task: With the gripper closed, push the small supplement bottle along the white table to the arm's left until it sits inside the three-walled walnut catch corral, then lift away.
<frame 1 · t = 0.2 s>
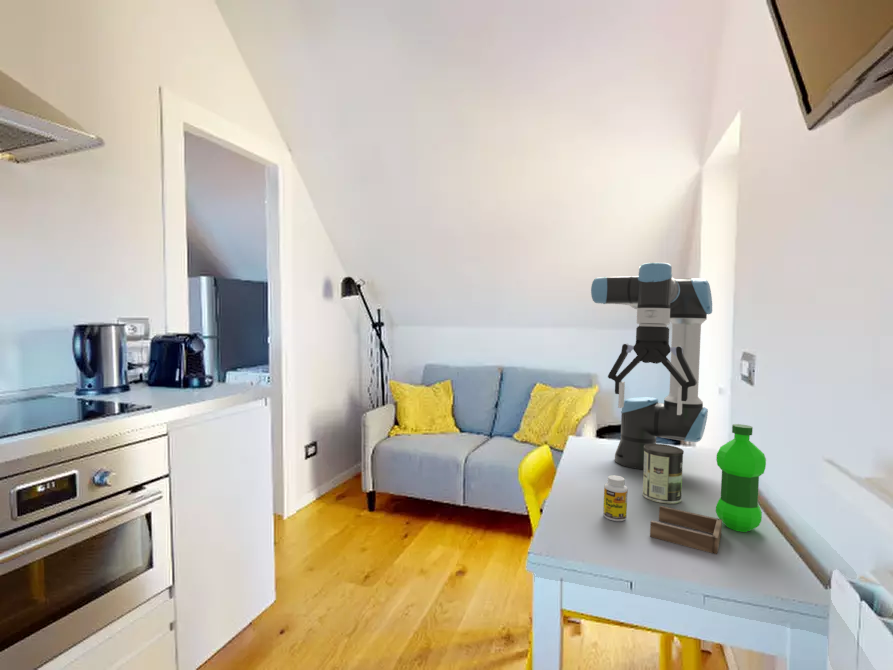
hand: (649, 410, 117), 28 cm above the table, tool pointing down, fingers open, 13 cm apart
catch corral: (684, 535, 110), on the table
supplement bottle: (614, 518, 119), on the table
coffee can: (661, 497, 134), on the table
plastic bottle: (737, 528, 115), on the table
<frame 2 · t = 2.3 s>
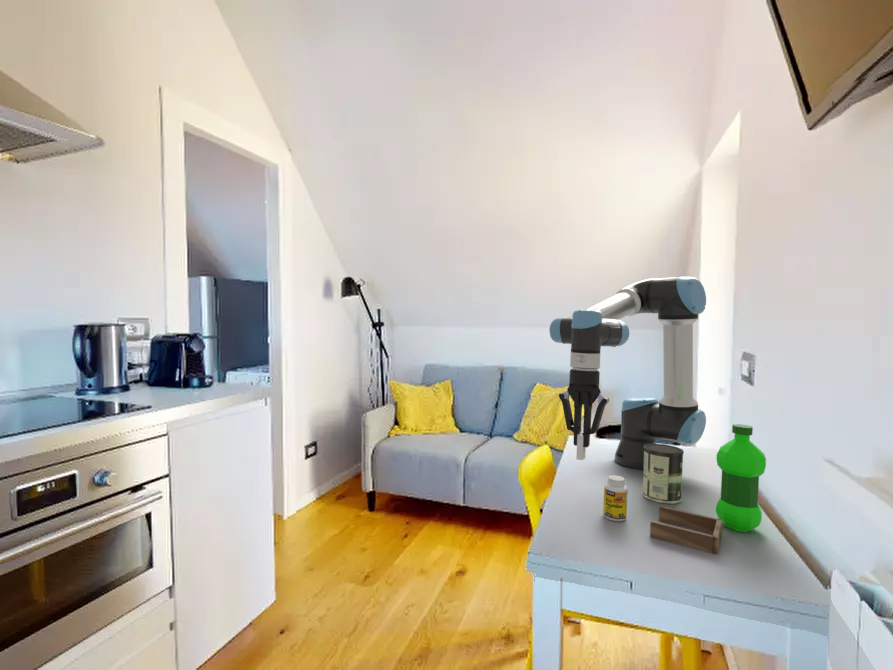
hand: (580, 458, 123), 13 cm above the table, tool pointing down, fingers closed
nothing on the table moved.
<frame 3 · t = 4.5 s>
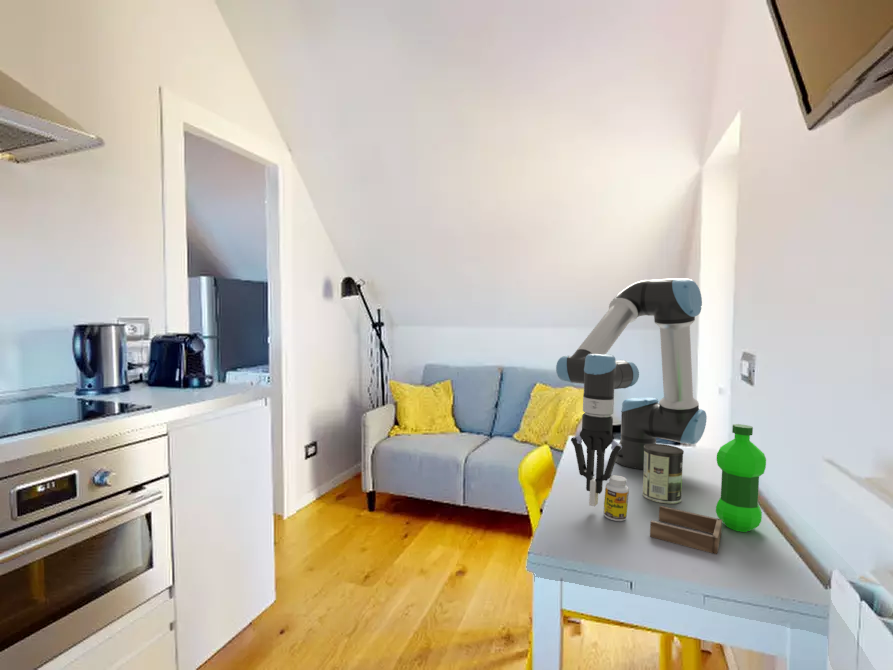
hand: (593, 504, 122), 2 cm above the table, tool pointing down, fingers closed
supplement bottle: (614, 517, 119), on the table, touching gripper
everything else where it was.
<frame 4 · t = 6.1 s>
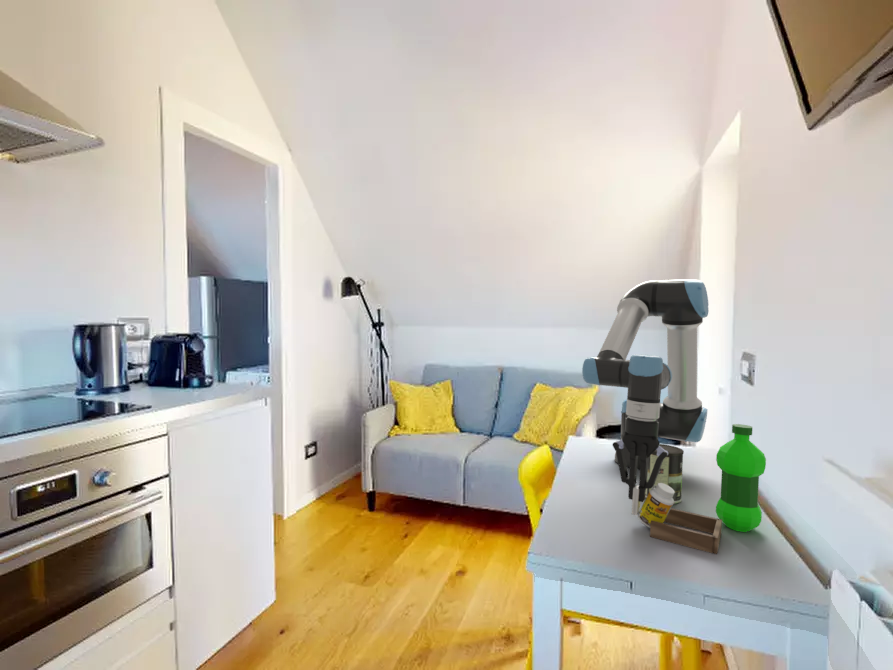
hand: (635, 513, 115), 3 cm above the table, tool pointing down, fingers closed
supplement bottle: (648, 523, 114), point 1 cm above the table, touching gripper
everything else where it was.
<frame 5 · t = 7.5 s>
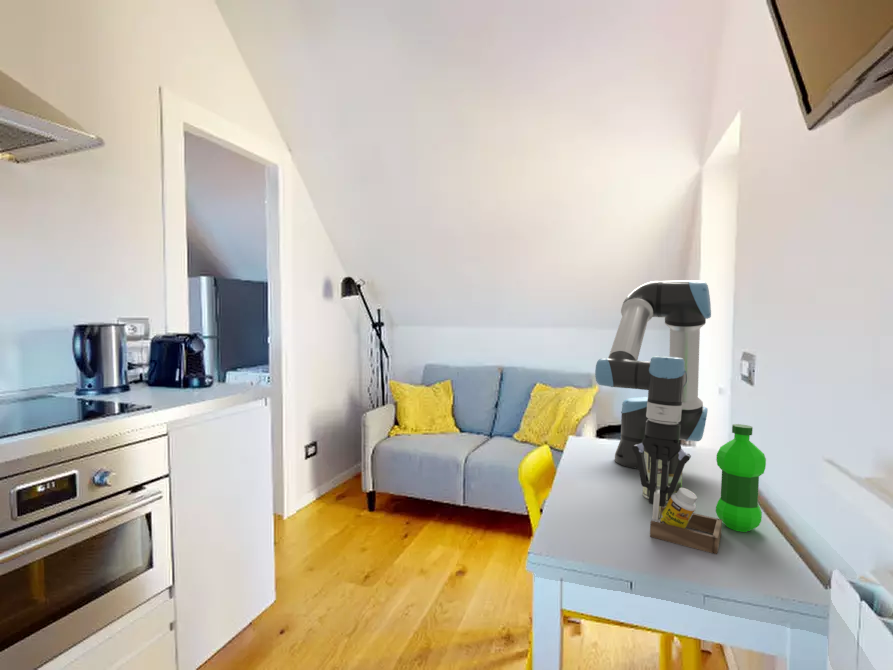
hand: (656, 518, 113), 3 cm above the table, tool pointing down, fingers closed
supplement bottle: (669, 528, 111), point 1 cm above the table, touching gripper
everything else where it was.
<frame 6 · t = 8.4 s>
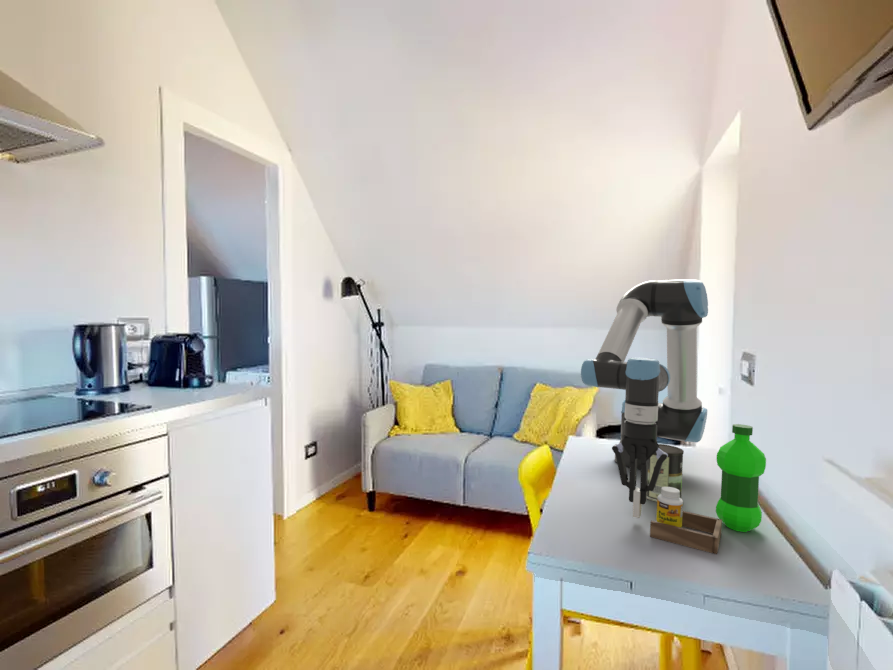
hand: (636, 515, 116), 2 cm above the table, tool pointing down, fingers closed
supplement bottle: (668, 532, 112), on the table
everything else where it was.
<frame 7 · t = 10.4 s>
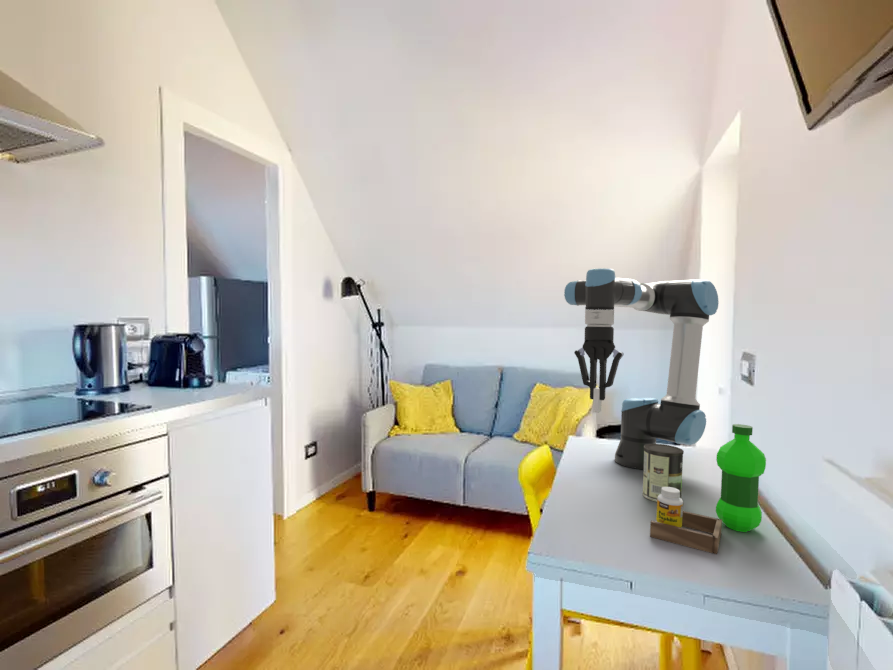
hand: (597, 411, 129), 25 cm above the table, tool pointing down, fingers closed
nothing on the table moved.
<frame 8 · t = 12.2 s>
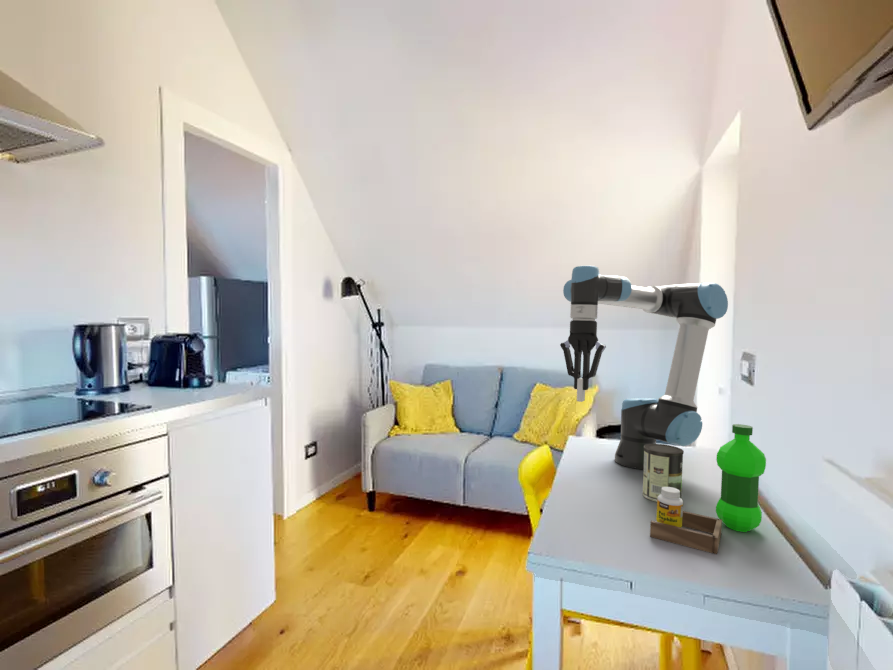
hand: (580, 400, 137), 26 cm above the table, tool pointing down, fingers closed
nothing on the table moved.
at the end: supplement bottle inside the target area on the catch corral (3.4 cm from its centre), point 0.0 cm above the catch corral's base; supplement bottle moved 12.6 cm from its start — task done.
